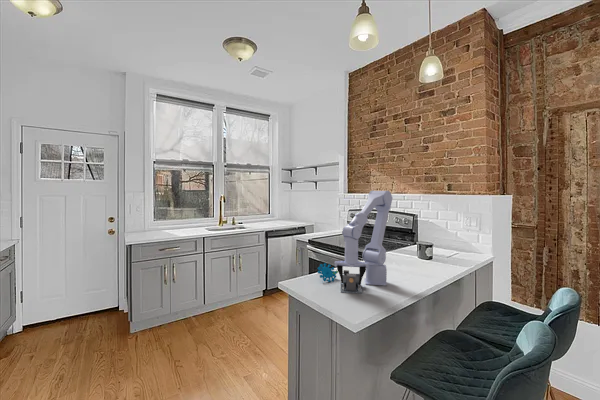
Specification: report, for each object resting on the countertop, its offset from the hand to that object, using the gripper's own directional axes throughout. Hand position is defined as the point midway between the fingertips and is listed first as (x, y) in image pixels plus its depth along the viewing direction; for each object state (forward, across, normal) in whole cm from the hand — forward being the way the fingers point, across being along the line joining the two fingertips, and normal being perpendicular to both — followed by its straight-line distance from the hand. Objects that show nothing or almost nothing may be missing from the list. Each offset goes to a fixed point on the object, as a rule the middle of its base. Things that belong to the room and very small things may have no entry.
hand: (351, 283), depth 126 cm
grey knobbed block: (+2, 0, 0) cm, 2 cm away
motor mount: (+3, 0, +2) cm, 4 cm away
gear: (+3, -11, +13) cm, 17 cm away
